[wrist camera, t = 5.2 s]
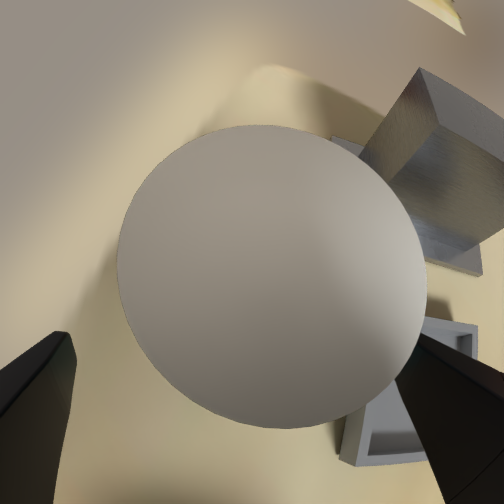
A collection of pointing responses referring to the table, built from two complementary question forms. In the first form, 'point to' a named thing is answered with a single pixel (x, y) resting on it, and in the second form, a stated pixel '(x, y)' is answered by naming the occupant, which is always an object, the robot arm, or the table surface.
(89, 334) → the table surface
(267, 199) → the canister
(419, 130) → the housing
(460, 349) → the holder tray
